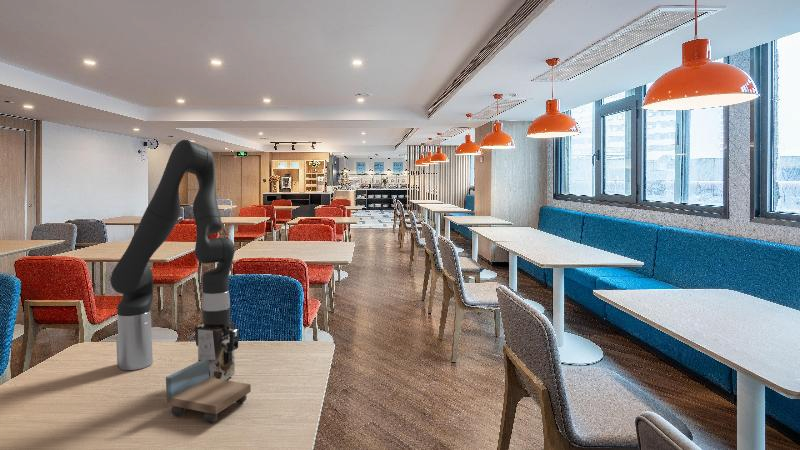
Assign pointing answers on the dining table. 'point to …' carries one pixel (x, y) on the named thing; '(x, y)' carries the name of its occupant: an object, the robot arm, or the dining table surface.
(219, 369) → the coffee box
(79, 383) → the dining table surface
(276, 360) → the dining table surface
